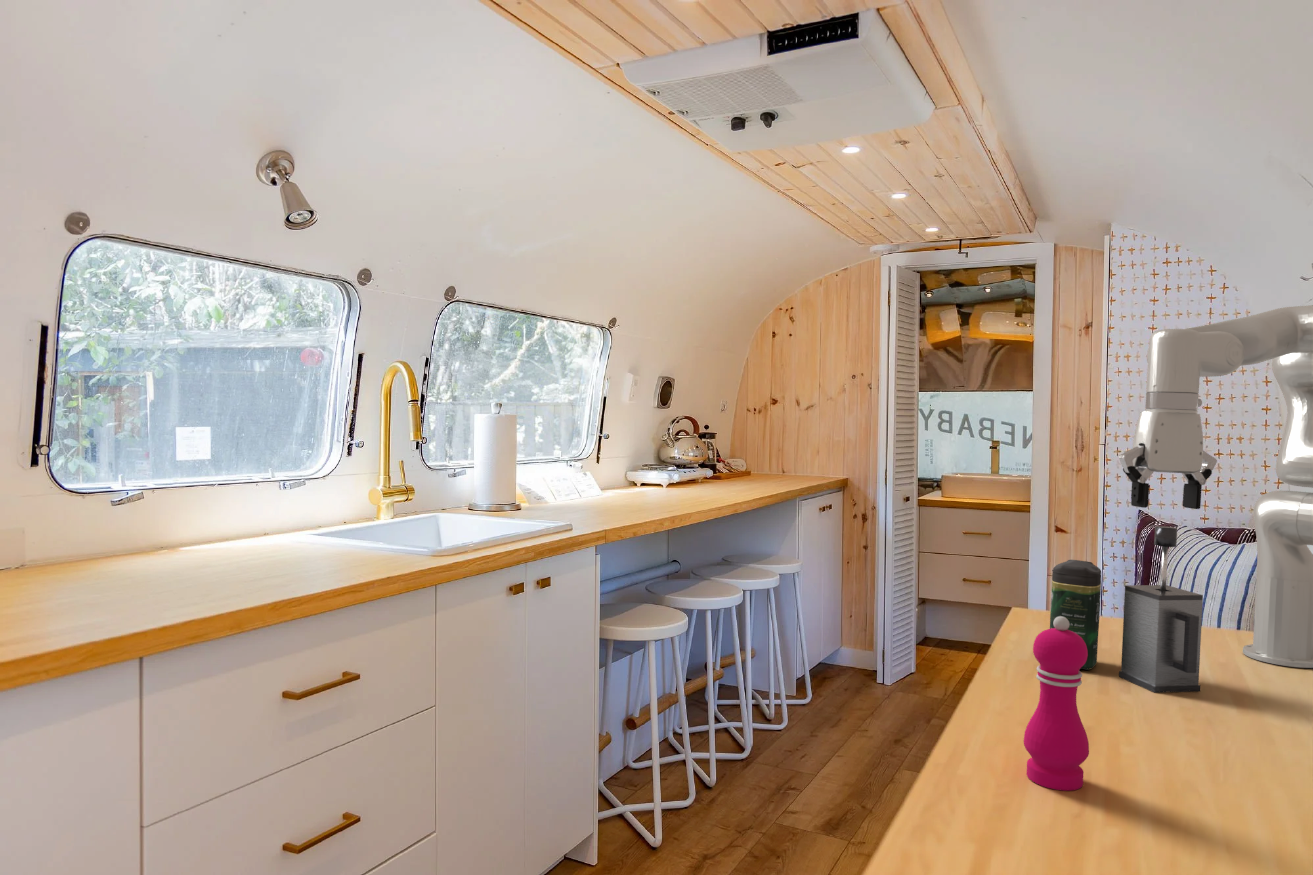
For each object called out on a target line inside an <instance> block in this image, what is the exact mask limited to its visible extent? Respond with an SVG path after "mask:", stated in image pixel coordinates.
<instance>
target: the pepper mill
mask: <svg viewBox="0 0 1313 875" xmlns="http://www.w3.org/2000/svg"><path fill="white" fill-rule="evenodd" d="M1053 625H1054V627H1055V628H1051V629H1050V628H1047V629H1044V630H1042V631H1041V632H1039V633H1038V635H1036V636H1035V639H1034V641H1033V645H1032V650H1033V651H1032V654H1033V655H1034V658H1035V659H1036V661H1037V662H1038V663H1039V665H1037V667H1036V672H1037V673H1036V676H1035V678H1036V679H1037V680H1038V681H1039V689H1040V690H1039V699H1038V700H1039V701H1038V702H1037V703H1038V704H1037V707H1036V708H1035V710H1034V713H1033V714H1032V716H1031V717H1030V719H1029V721H1028V723H1027V725H1026V728H1025V730H1024V735H1023V745H1024V749H1025V750H1026V751H1027V752H1028V754H1029V756H1030V758H1029V759H1027V761H1026V777H1027V778H1028V780H1030V781H1031V780H1032V781H1031V782H1032V783H1034V782H1035V783H1034V784H1036V785H1038V784H1039V785H1038V786H1041V787H1043V788H1047V789H1051V790H1056V791H1064V792H1065V791H1067V792H1068V791H1070V792H1071V791H1077V790H1080V789H1081V788H1082V787H1083V785H1084V769H1083V768H1082V767H1081V766H1080V765H1082V764H1083V763H1084V762H1085V761H1086V760H1087V759H1088V757H1089V755H1090V746H1089V745H1090V744H1089V738H1088V735H1087V731H1086V729H1085V727H1084V725H1083V722H1082V719H1081V716H1080V714H1079V710H1078V705H1077V704H1078V703H1077V694H1078V693H1077V692H1078V687H1079V686H1081V685H1082V682H1083V681H1082V677H1083V673H1082V672H1081V671H1080V670H1081V669H1080V668H1081V667H1082V666H1083V665H1084V664H1085V663H1086V661H1087V656H1088V651H1087V646H1086V644H1085V642H1084V640H1083V639H1082V638H1081V637H1080V636H1079V635H1078V634H1076V633H1074V632H1072V631H1070V630H1067V629H1068V628H1069V621H1068V620H1067V619H1066V618H1065V617H1062V616H1059V617H1056V618H1055V619H1054V621H1053Z"/></svg>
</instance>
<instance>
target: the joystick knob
mask: <svg viewBox="0 0 1313 875" xmlns="http://www.w3.org/2000/svg"><path fill="white" fill-rule="evenodd" d="M1177 542H1178V528H1177V527H1173V526H1164V525H1161V526H1159V525H1155V526H1154V543H1153V544H1154V546H1158V547H1162V549H1161V569H1160V570H1161V572H1160V585H1161V587H1160V591H1166V585H1167V578H1168V576H1167V574H1168V558H1169V557H1168V555H1169V553H1168V552H1169V550H1168V549H1169V548H1176V547H1177Z"/></svg>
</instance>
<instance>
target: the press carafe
mask: <svg viewBox="0 0 1313 875" xmlns="http://www.w3.org/2000/svg"><path fill="white" fill-rule="evenodd" d="M1160 587H1161V584H1159V585H1155V584H1154V585H1153V584H1152V585H1151V584H1148V585H1145V584H1144V585H1143V584H1141V585H1140V584H1138V585H1136V584H1135V585H1134V584H1133V585H1132V584H1131V585H1125V584H1124V598H1123V599H1124V600H1123V601H1124V602H1123V623H1122V645H1121V662H1120V664H1121V666H1120V670H1118V677H1119V678H1121V679H1123V680H1125V681H1128V682H1130V683H1132V684H1134V685H1136V686H1139V687H1141V688H1142V689H1145V690H1148V691H1150V692H1152V693H1155V694H1157V693H1189V692H1192V693H1194V692H1201V684H1200V683H1199V681H1200V663H1201V662H1200V661H1201V660H1200V659H1201V642H1202V641H1201V640H1202V623H1203V621H1202V619H1203V603H1204V602H1203V600H1204V595H1203V594H1200V593H1196V592H1193V591H1189V590H1186V589H1182V588H1178V587H1176V586H1175V587H1174V586H1171V585H1167V584H1166V591H1160Z"/></svg>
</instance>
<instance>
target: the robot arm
mask: <svg viewBox="0 0 1313 875" xmlns="http://www.w3.org/2000/svg"><path fill="white" fill-rule="evenodd" d="M1269 360H1272V361H1271V367H1272V373H1273V375H1274V378H1275V381H1276V382H1277V384H1278V386H1279V389H1280V391H1281V393H1282V395H1283V396H1282V397H1284V401H1285V404H1286V410H1287V414H1286V420H1285V425H1284V429H1283V434H1282V437H1281V441H1280V443H1279V444H1280V445H1279V449H1278V454H1277V457H1276V464H1275V472H1276V473H1275V474H1276V476H1277V478H1278V479H1279V480H1280V481H1281V482H1283V483H1284V484H1288V485H1291V486H1294V487H1302V488H1311V489H1313V304H1311V305H1300V306H1299V305H1298V306H1297V305H1296V306H1286V307H1279V308H1275V309H1271V310H1267V311H1263V312H1260V313H1256V314H1252V315H1248V316H1244V317H1239V318H1235V319H1228V320H1224V321H1218V322H1215V323H1211V324H1204V325H1200V326H1198V325H1197V326H1194V327H1188V328H1167V329H1165V328H1164V329H1158V330H1156V331H1154V332H1152V333H1151V335H1150V336H1149V340H1148V349H1147V352H1146V362H1147V369H1146V370H1147V372H1146V374H1147V375H1146V376H1147V377H1146V389H1145V392H1146V393H1145V406H1144V408H1145V409H1144V411H1141V412H1140V414H1139V415H1138V419H1137V422H1136V427H1135V430H1134V434H1133V435H1134V437H1133V443H1132V448H1131V449H1129V450H1127V451H1125V452H1123V453H1122V454H1120V455H1119V456H1118V459H1119V461H1120V465H1121V467H1122V471H1123V473H1124V474H1125V476H1126V477H1127V480H1128V481H1129V482H1131V492H1130V499H1131V500H1130V501H1131V502H1130V505H1131V506H1132V507H1136V508H1148V506H1149V498H1150V497H1149V496H1150V494H1149V493H1150V483H1146V482H1147V480H1149V479H1150V477H1151V476H1152V475H1153V474H1154V473H1166V474H1167V473H1170V474H1171V473H1172V474H1182V477H1184V479H1185V480H1186V482H1187V483H1184V484H1183V494H1182V506H1183V508H1187V509H1194V510H1200V509H1201V505H1202V488H1203V487H1202V486H1205V485H1206V484H1207V480H1208V479H1209V478H1210V476H1212V474H1213V470H1214V468H1215V467H1216V465H1217V463H1218V460H1217V458H1216V457H1214V456H1212V455H1211V454H1209V453H1208V452H1206V451H1205V450H1204V436H1203V434H1204V433H1203V425H1202V417H1201V414H1200V413H1198V412H1199V411H1198V410H1199V407H1201V406H1202V404H1203V400H1202V399H1200V398H1199V396H1200V395H1199V394H1200V393H1199V392H1200V378H1203V377H1205V378H1206V377H1223V376H1228V375H1230V374H1232V373H1233V372H1235V371H1237V370H1238V369H1239V368H1240V367H1242V366H1250V365H1255V364H1256V365H1257V364H1260V363H1261V364H1262V363H1264V362H1266V361H1269ZM1252 510H1253V511H1252V512H1253V514H1252V515H1253V517H1252V518H1253V519H1252V520H1253V523H1254V524H1253V525H1254V530H1255V536H1256V552H1257V553H1256V556H1257V557H1256V558H1257V560H1256V578H1255V579H1256V581H1255V599H1254V600H1255V601H1254V619H1253V638H1252V643H1251V644H1247V645H1244V646H1243V647H1242V653H1243V654H1244V655H1245V656H1247V657H1249V658H1251V659H1253V660H1257V661H1260V662H1262V663H1263V662H1264V663H1268V664H1272V665H1277V666H1278V665H1279V666H1284V667H1290V668H1291V667H1292V668H1299V669H1300V668H1301V669H1302V668H1303V669H1313V553H1312V551H1311V550H1310V548H1309V546H1313V492H1306V491H1297V490H1273V491H1269V492H1266V493H1264V494H1262V495H1261V496H1259V497H1258V499H1257V500H1256V501H1255V502H1254V506H1253V509H1252Z"/></svg>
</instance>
